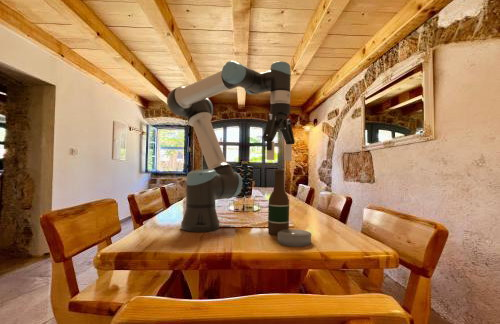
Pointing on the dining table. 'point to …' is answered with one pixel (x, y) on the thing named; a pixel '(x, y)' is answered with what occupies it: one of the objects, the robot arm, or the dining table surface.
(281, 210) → the beer bottle
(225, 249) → the dining table surface
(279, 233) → the slate pedestal
